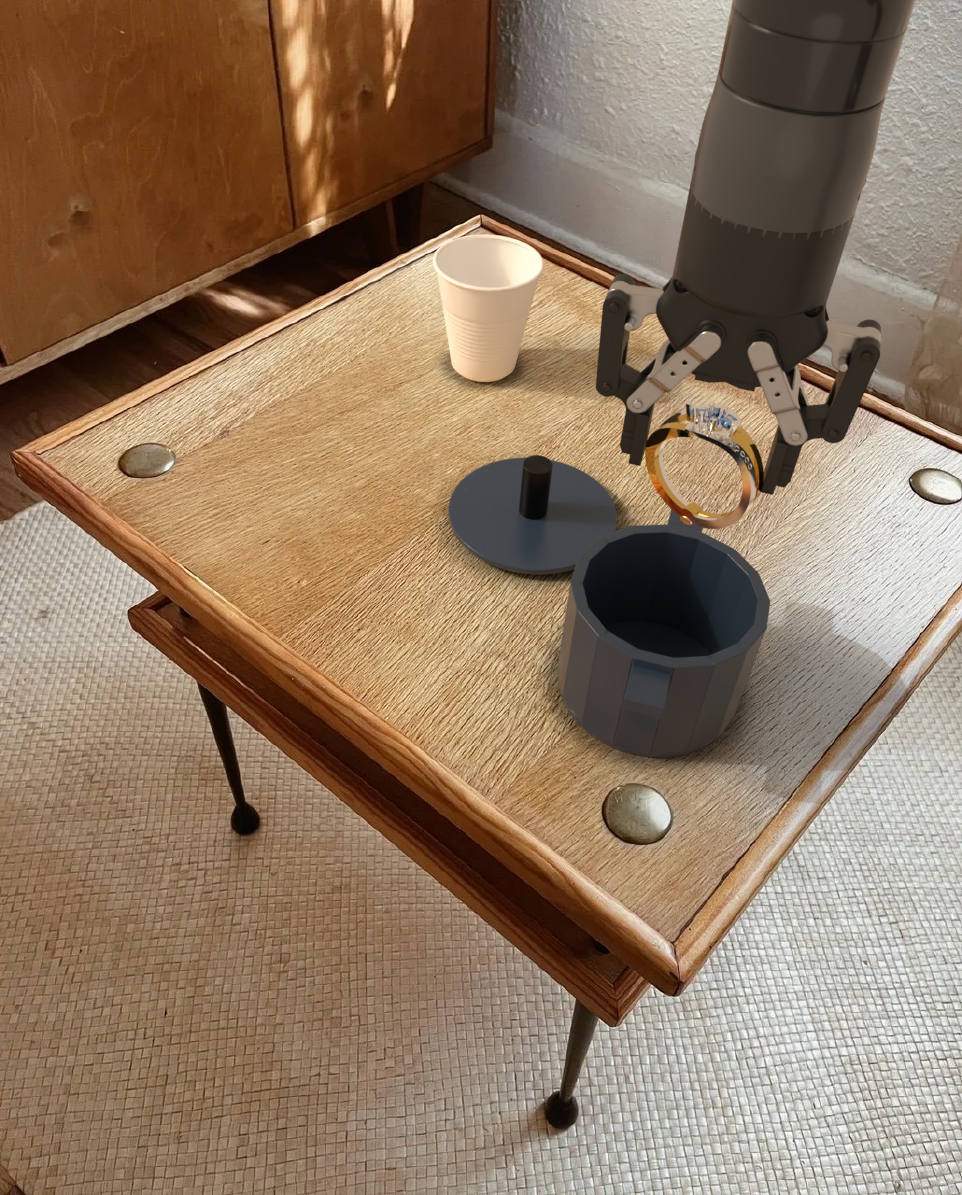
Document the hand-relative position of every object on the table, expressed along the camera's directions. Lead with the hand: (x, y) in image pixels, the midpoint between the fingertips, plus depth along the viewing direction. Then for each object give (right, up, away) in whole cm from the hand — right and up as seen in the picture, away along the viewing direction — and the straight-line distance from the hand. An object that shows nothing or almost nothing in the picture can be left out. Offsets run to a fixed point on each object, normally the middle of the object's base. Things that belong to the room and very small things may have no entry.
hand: (702, 470), depth 59 cm
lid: (-8, -1, +25) cm, 26 cm away
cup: (-12, +15, +41) cm, 45 cm away
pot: (-1, -13, +14) cm, 19 cm away
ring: (0, -3, +3) cm, 4 cm away
